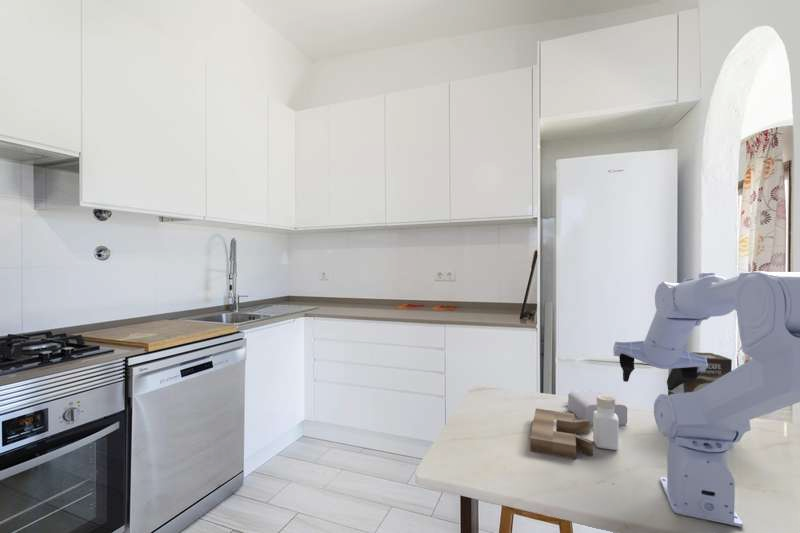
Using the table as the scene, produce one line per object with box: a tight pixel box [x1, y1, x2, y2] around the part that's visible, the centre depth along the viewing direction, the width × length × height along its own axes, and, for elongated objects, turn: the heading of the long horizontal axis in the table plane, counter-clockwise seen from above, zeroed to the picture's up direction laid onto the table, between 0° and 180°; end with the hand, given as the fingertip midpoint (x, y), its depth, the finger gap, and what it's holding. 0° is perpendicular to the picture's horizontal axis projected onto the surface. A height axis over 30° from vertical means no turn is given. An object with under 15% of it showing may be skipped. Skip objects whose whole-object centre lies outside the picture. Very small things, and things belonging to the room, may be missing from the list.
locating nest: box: [529, 408, 594, 460], centre depth 79 cm, size 16×11×2 cm
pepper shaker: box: [592, 394, 620, 451], centre depth 76 cm, size 4×4×10 cm
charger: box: [567, 390, 628, 426], centre depth 93 cm, size 5×9×15 cm
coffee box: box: [667, 351, 733, 395], centre depth 83 cm, size 9×6×16 cm
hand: (646, 381), depth 77 cm, fingers open, 7 cm apart
